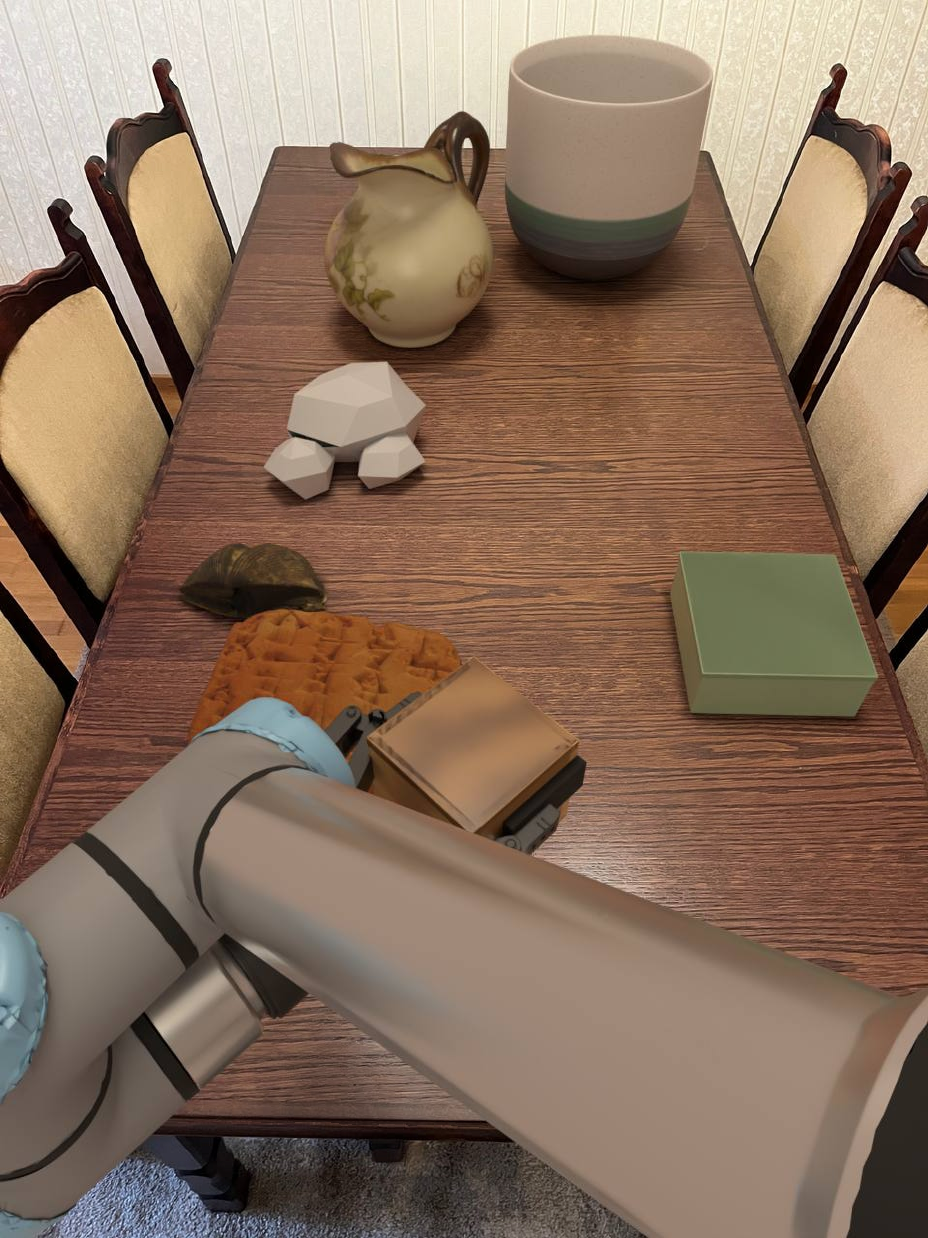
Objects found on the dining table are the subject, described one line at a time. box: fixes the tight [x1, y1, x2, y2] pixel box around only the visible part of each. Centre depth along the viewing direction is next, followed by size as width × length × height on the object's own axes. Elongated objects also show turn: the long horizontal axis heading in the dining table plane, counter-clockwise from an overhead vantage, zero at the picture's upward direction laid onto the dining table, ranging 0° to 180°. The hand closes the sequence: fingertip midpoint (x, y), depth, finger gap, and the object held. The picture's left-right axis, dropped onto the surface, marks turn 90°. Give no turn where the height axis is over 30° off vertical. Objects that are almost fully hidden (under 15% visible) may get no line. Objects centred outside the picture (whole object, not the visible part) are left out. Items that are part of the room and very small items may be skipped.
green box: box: [669, 551, 879, 717], centre depth 85 cm, size 15×15×6 cm
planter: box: [504, 34, 714, 281], centre depth 129 cm, size 27×27×27 cm
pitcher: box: [323, 110, 495, 349], centre depth 118 cm, size 22×24×25 cm
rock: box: [263, 361, 427, 500], centre depth 104 cm, size 18×20×10 cm
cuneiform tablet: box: [187, 609, 463, 795], centre depth 78 cm, size 22×17×8 cm
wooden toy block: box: [366, 656, 580, 840], centre depth 57 cm, size 9×9×9 cm
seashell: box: [179, 542, 328, 620], centre depth 90 cm, size 16×9×7 cm, turn 75°
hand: (522, 723), depth 58 cm, fingers closed on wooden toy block, 9 cm apart
